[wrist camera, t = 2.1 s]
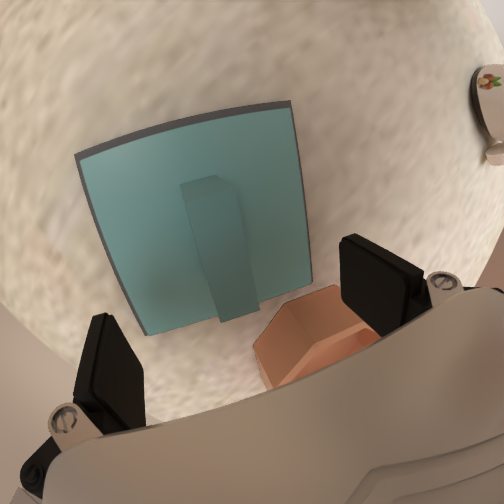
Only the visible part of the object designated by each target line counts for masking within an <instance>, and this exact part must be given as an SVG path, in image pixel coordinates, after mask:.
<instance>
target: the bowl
mask: <svg viewBox="0 0 504 504" xmlns="http://www.w3.org/2000/svg"><path fill="white" fill-rule="evenodd" d="M380 338H382V337H380V336H379V335H378V334H377V333H376V332H375V331H374V330H373V329H372V328H371V327H370V326H369V325H367V324H366V323H365V322H364V321H363V320H362V319H361V318H360V317H359V316H358V315H357V314H355V313H354V312H353V311H352V310H351V309H350V308H349V307H348V306H347V305H345V304H344V302H343V301H342V299H341V288H340V287H338V286H336V285H335V284H334V285H332V286H329V287H327V288H324V289H322V290H319V291H316V292H314V293H311V294H308V295H306V296H303V297H300V298H298V299H295V300H292V301H290V302H287V303H284V305H283V306H282V308H281V309H280V310H279V312H278V313H277V314H276V316H275V317H274V318H273V320H272V321H271V322H270V324H269V325H268V326H267V328H266V329H265V330H264V332H263V333H262V334H261V336H260V337H259V338H258V339H257V341H256V342H255V343H254V345H253V347H254V351H255V355H256V359H257V363H258V366H259V370H260V374H261V378H262V380H263V382H264V384H265V386H266V388H267V390H271V389H274V388H276V387H279V386H281V385H284V384H286V383H289V382H291V381H294V380H296V379H298V378H301V377H303V376H305V375H308V374H310V373H312V372H314V371H317V370H319V369H321V368H323V367H325V366H328V365H330V364H332V363H334V362H336V361H338V360H340V359H342V358H344V357H346V356H348V355H350V354H352V353H354V352H356V351H358V350H360V349H362V348H364V347H366V346H367V345H369V344H371V343H373V342H375V341H377V340H378V339H380Z"/></svg>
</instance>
